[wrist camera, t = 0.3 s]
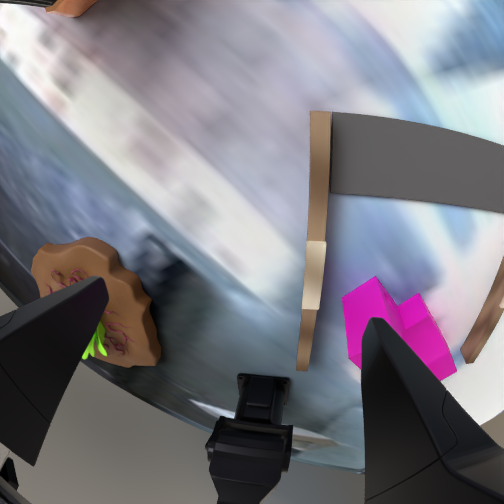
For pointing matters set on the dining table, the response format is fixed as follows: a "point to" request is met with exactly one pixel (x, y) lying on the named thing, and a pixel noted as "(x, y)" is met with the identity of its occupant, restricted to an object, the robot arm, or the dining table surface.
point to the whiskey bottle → (57, 6)
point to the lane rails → (497, 301)
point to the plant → (118, 308)
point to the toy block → (396, 325)
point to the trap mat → (415, 162)
